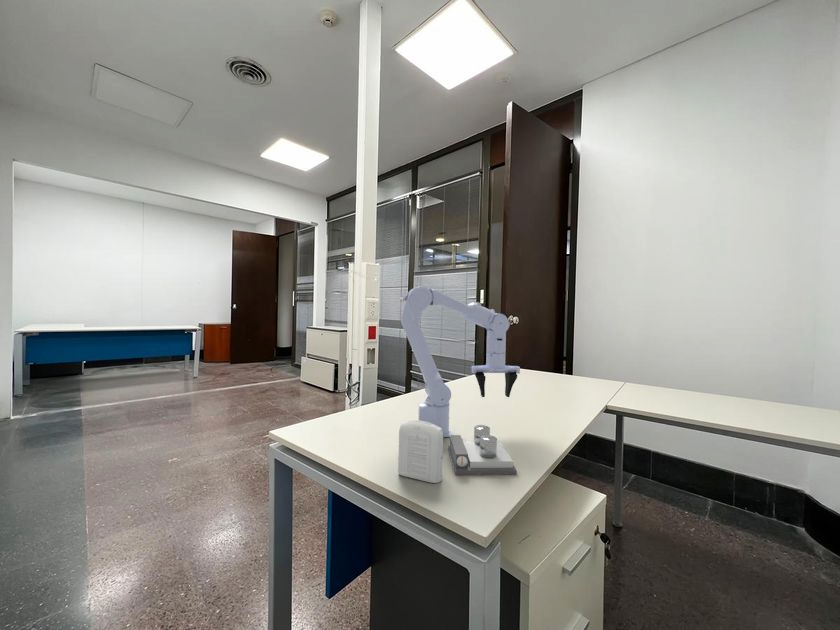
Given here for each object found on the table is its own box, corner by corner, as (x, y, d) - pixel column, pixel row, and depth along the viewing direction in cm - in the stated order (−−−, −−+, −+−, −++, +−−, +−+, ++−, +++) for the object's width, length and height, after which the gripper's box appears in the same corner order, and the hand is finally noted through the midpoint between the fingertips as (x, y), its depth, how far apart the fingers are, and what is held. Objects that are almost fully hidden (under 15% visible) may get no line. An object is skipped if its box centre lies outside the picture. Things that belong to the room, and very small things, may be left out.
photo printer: (445, 476, 73) (445, 421, 73) (439, 486, 69) (439, 428, 69) (403, 467, 77) (403, 415, 77) (395, 476, 73) (395, 421, 73)
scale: (455, 474, 74) (455, 456, 74) (448, 449, 87) (448, 433, 87) (516, 474, 74) (516, 456, 74) (500, 448, 87) (500, 433, 87)
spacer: (480, 458, 77) (481, 441, 76) (478, 450, 81) (478, 434, 80) (497, 459, 76) (498, 442, 76) (494, 451, 80) (495, 435, 80)
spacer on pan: (475, 446, 83) (476, 430, 83) (472, 439, 87) (472, 425, 87) (491, 446, 83) (491, 430, 83) (487, 439, 87) (487, 425, 87)
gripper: (475, 354, 96) (474, 400, 96) (523, 354, 97) (522, 400, 97) (470, 350, 103) (469, 393, 103) (515, 351, 104) (515, 393, 104)
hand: (495, 396), depth 101 cm, fingers open, 7 cm apart
